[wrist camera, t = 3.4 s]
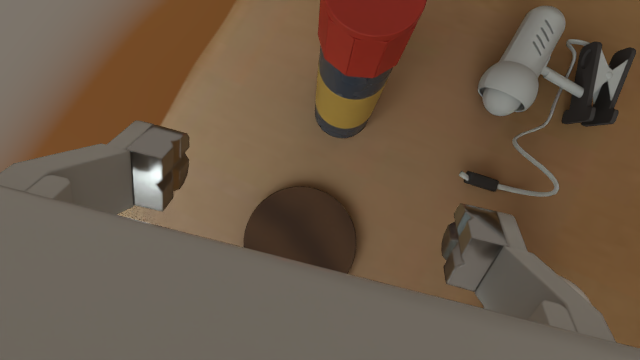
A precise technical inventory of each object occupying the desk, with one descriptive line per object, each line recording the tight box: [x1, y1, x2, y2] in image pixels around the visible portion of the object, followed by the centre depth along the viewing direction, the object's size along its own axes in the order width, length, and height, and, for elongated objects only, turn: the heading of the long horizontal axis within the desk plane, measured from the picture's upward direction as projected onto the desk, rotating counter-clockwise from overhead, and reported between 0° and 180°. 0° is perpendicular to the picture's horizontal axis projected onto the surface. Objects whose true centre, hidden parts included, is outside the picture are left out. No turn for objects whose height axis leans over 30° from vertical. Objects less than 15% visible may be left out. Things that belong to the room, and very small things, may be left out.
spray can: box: [315, 45, 393, 138], centre depth 33 cm, size 5×5×16 cm
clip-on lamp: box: [459, 6, 636, 197], centre depth 39 cm, size 12×6×18 cm
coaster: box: [244, 187, 356, 274], centre depth 38 cm, size 10×10×1 cm
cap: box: [318, 0, 427, 78], centre depth 25 cm, size 6×6×5 cm
